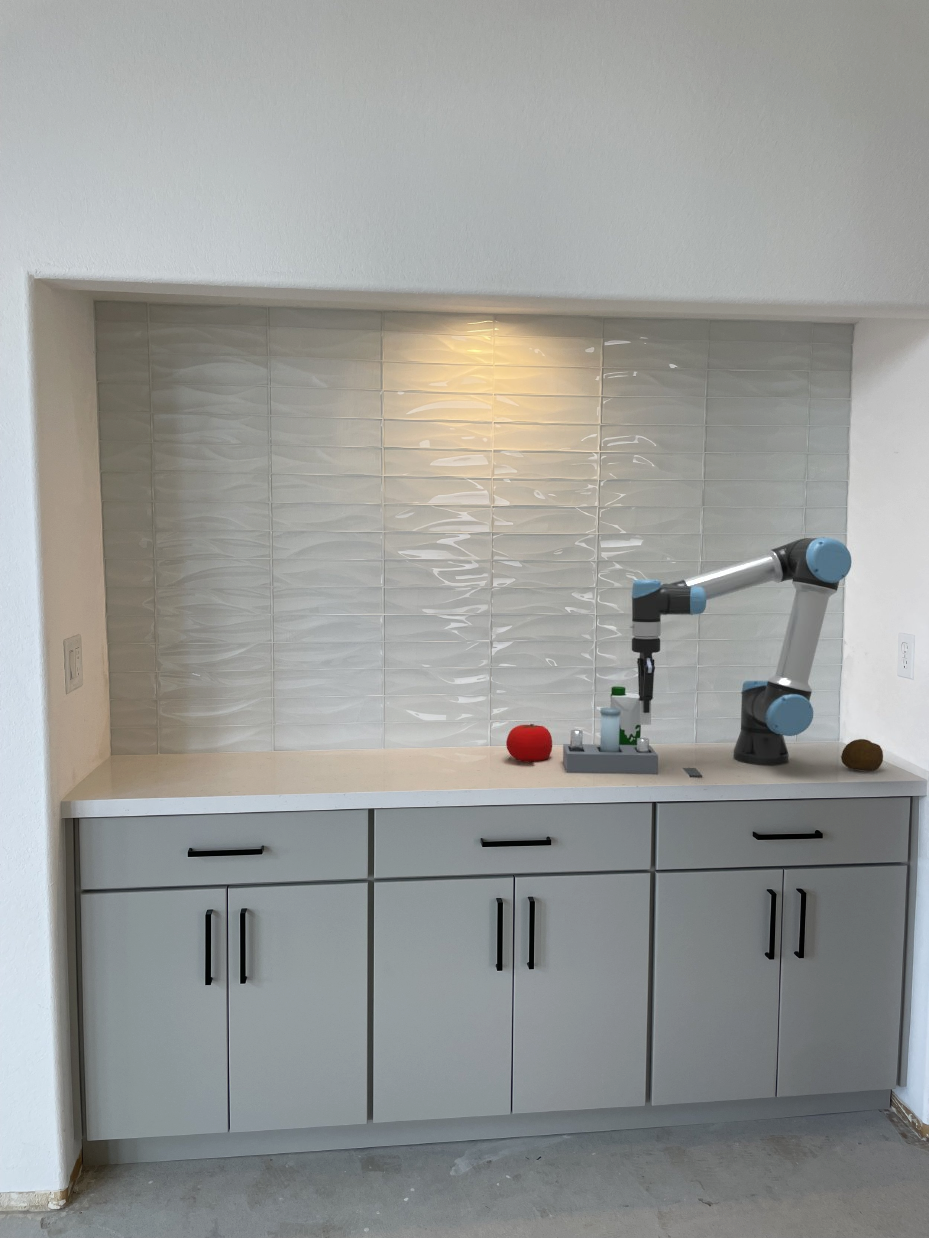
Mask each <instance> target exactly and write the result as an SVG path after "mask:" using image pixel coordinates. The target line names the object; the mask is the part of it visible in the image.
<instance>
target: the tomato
mask: <svg viewBox="0 0 929 1238" xmlns="http://www.w3.org/2000/svg"><path fill="white" fill-rule="evenodd" d="M551 734H552V733H551V732H550V730H549V729H548V728H547V727H546V726H543V725H538V724H537V725H535V723H530V724H520V725H517V726H515V727H513V728H511V730H510V731H509V732H508V735H507V738H506V742H505V743H506V745H505V746H506V749H507V751H508V753H509V755H510V756H511V757H512V758H513V759H515V760H517V761H519V762H523V763H535V762H540V761H545V760H547V759H548V758H549V757H550V756H551V753H552V751H553V739H552V735H551Z"/></svg>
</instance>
